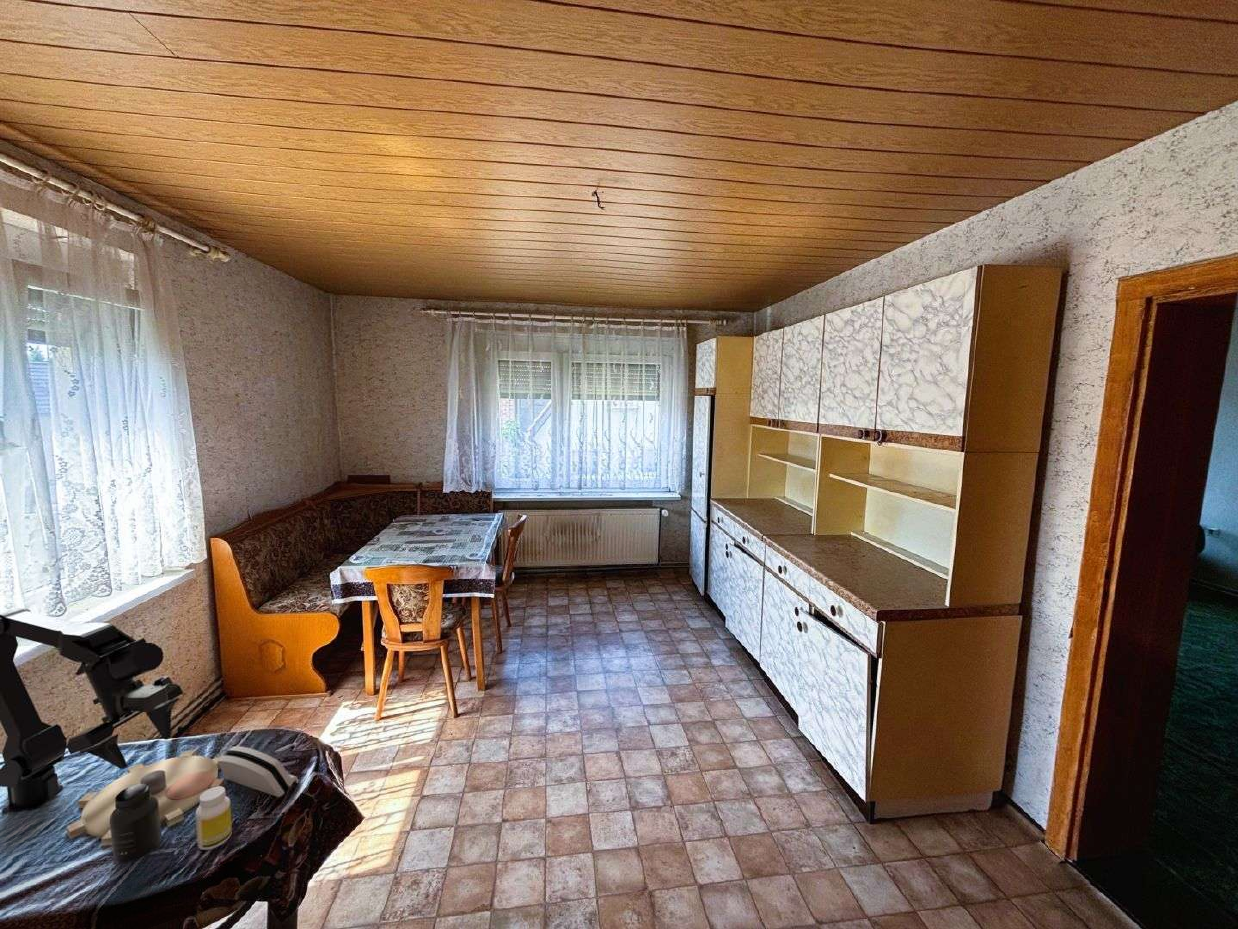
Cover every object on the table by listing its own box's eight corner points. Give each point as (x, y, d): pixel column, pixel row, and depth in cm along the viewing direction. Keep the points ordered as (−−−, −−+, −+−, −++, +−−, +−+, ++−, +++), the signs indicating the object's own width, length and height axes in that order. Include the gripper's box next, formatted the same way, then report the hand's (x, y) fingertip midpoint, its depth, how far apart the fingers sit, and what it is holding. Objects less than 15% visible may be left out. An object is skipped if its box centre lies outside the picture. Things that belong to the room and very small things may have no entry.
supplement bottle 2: (238, 833, 104) (236, 787, 103) (209, 854, 99) (206, 807, 98) (220, 825, 105) (217, 780, 104) (190, 846, 100) (187, 799, 99)
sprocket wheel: (27, 855, 97) (25, 833, 97) (127, 762, 123) (126, 745, 122) (186, 835, 103) (184, 814, 102) (250, 750, 128) (249, 733, 128)
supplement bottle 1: (134, 835, 102) (129, 779, 101) (171, 834, 103) (166, 778, 102) (102, 866, 96) (97, 806, 94) (142, 864, 96) (137, 804, 95)
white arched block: (300, 782, 118) (284, 752, 114) (282, 802, 114) (265, 772, 110) (247, 764, 123) (230, 736, 119) (228, 783, 119) (210, 754, 115)
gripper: (96, 698, 96) (133, 772, 97) (188, 651, 114) (218, 714, 115) (48, 716, 97) (85, 790, 98) (146, 667, 116) (176, 729, 117)
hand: (147, 752), depth 107 cm, fingers open, 9 cm apart
